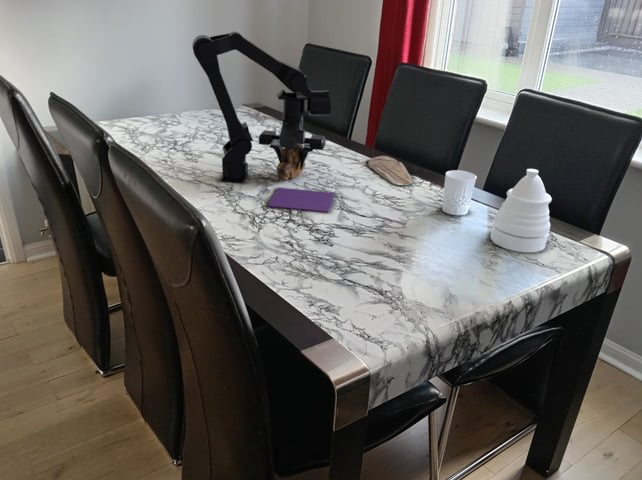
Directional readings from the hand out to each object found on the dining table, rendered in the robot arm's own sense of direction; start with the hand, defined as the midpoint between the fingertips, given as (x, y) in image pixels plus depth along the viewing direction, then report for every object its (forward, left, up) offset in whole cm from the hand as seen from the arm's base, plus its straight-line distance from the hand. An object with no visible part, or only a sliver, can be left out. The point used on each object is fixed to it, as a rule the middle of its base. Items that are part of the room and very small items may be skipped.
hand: (291, 168), depth 170 cm
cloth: (+6, -18, -3) cm, 19 cm away
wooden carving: (0, 0, -3) cm, 3 cm away
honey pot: (+61, -31, -3) cm, 69 cm away
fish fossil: (+29, +14, -3) cm, 33 cm away
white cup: (+47, -15, -3) cm, 50 cm away
